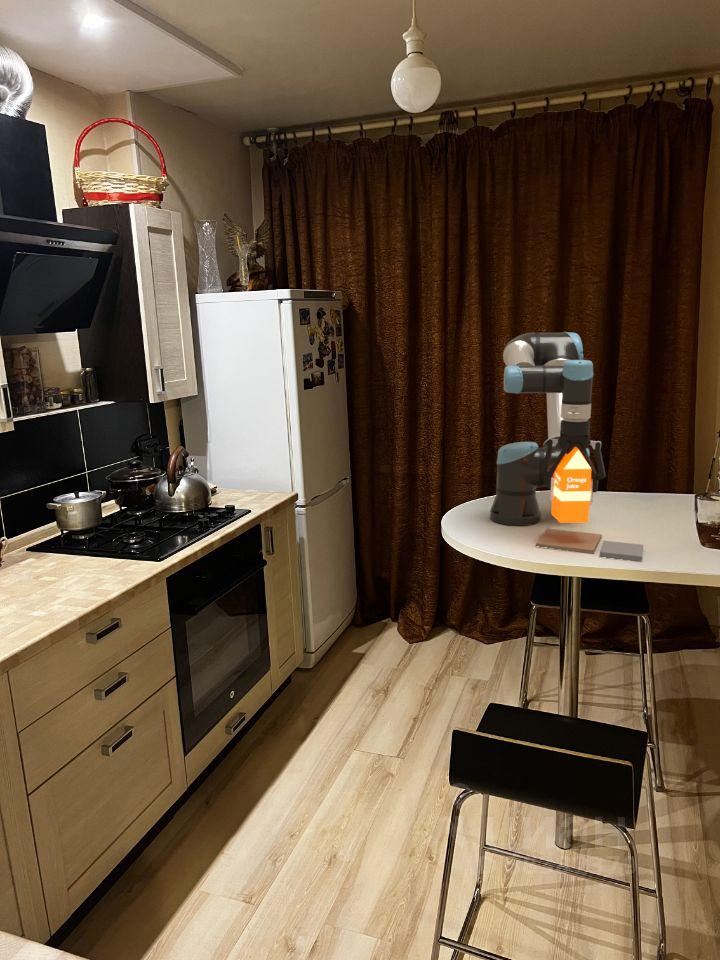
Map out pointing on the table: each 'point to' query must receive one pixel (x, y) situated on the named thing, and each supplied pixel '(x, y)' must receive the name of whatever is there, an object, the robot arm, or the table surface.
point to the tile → (622, 551)
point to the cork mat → (569, 540)
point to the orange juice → (572, 489)
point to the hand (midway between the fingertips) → (571, 501)
